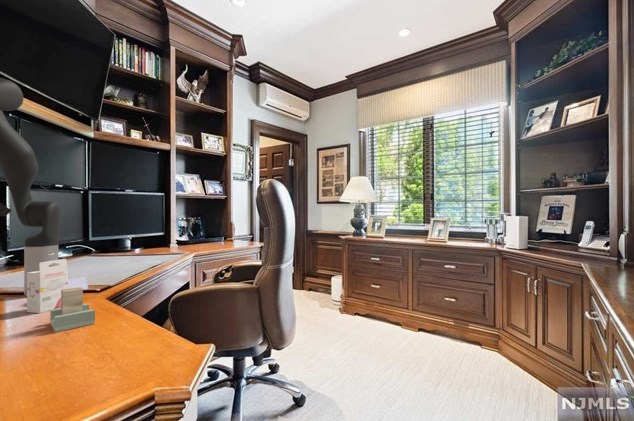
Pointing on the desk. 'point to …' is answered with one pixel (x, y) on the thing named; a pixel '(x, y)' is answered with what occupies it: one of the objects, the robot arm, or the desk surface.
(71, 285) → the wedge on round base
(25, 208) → the robot arm
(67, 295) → the birch block
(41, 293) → the ink cartridge box
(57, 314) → the sage green grooved bar
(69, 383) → the desk surface
